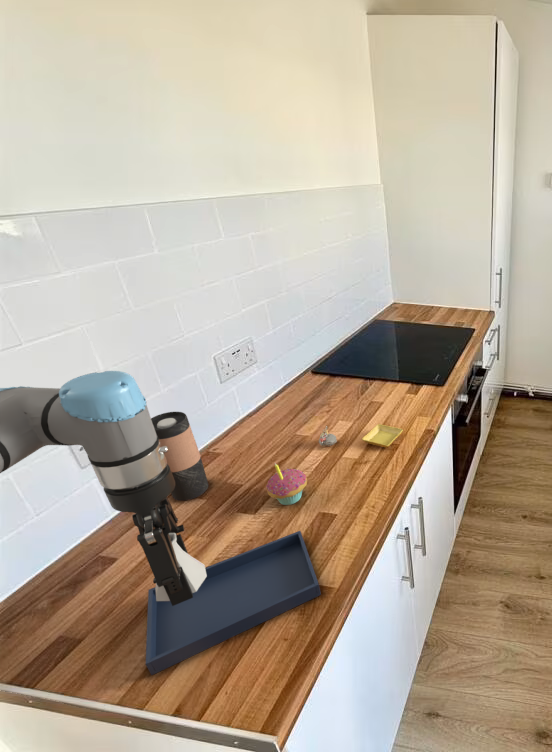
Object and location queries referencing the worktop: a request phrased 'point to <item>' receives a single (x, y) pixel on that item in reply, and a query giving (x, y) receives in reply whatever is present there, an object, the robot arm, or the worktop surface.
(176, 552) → the flask
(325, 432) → the figurine
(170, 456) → the travel mug
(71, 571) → the worktop surface
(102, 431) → the robot arm
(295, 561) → the tray
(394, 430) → the saucer
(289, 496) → the cupcake
